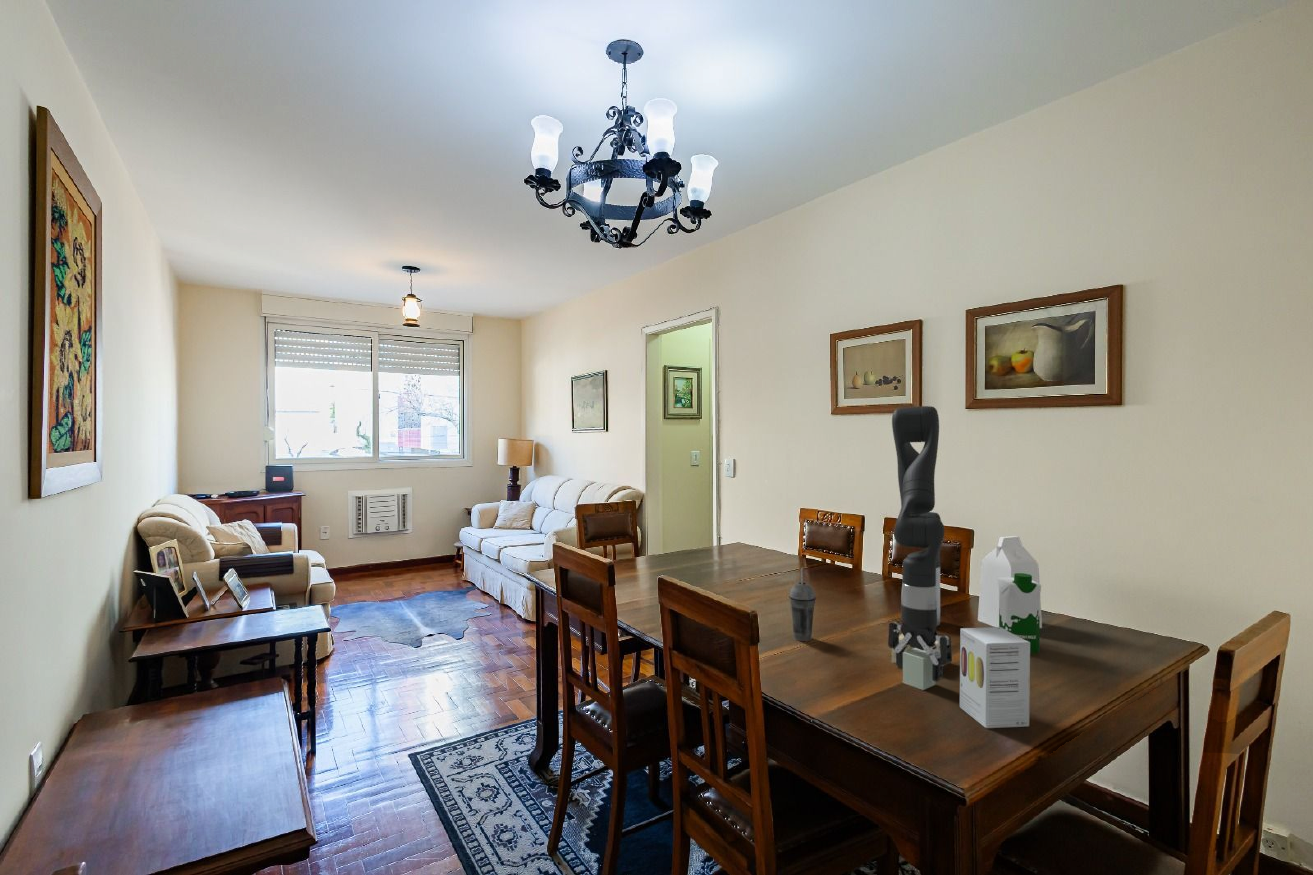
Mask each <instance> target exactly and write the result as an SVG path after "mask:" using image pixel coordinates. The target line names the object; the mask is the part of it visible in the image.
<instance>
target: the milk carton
mask: <svg viewBox="0 0 1313 875" xmlns="http://www.w3.org/2000/svg"><path fill="white" fill-rule="evenodd" d="M998 586H999V627H1001V628H1003V629H1005V630H1007V631H1008V632H1010V633H1012V634H1014V635H1016V636H1018V637H1020V638H1022V639H1024V640H1026V641H1028V642H1030V654H1040V642H1041V641H1040V629H1041V628H1040V599H1041V591H1042V584H1041V583H1040V584H1039V583H1037V582H1035V581H1033V580H1032V576H1031V575H1029V574H1023V573H1015V574H1014V578H1002V577H998Z"/></svg>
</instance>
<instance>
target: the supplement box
mask: <svg viewBox="0 0 1313 875" xmlns="http://www.w3.org/2000/svg"><path fill="white" fill-rule="evenodd" d="M959 632H960V634H959V635H960V637H959V639H960V640H959V642H960V645H959V646H960V647H959V648H960V649H959V653H960V654H959V708H960V709H961V710H963V711H964V712H965V713H967V714H968V715H969V716H970V717H971V718H973V719H974V720H975V721H976V722H977V723H979V724H980V725H981V726H982V727H984V728H985V729H995V728H996V729H1001V728H1003V729H1004V728H1019V727H1020V728H1022V727H1024V728H1025V727H1030V701H1031V698H1030V696H1031V695H1030V693H1031V692H1030V690H1031V689H1030V686H1031V685H1030V681H1031V680H1030V677H1031V675H1030V674H1031V673H1030V671H1031V653H1030V642H1028V641H1026V640H1024V639H1022V638H1020V637H1018V636H1016V635H1014V634H1012V633H1010V632H1008V631H1007V630H1005V629H1003V628H1001V627H994V626H991V627H990V626H989V627H963V628H962V627H961V628H960V631H959Z"/></svg>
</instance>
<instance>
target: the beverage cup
mask: <svg viewBox="0 0 1313 875" xmlns="http://www.w3.org/2000/svg"><path fill="white" fill-rule="evenodd" d="M803 570H804V568H803V567H800V582H798V583H796V584H794V585H793V586H792V587H791V589H790V593H789V602H790V606H791V616H792V617H791V619H792V629H793V637H794V638H795V639H796V640H795V639H794V640H795V641H798V642H803V641H806V642H811V640H812V634H813V633H812V632H813V622H814V621H813V620H814V609H815V608H814V607H815V604H816V599H817V597H816V592H815V589H814V588H813V587H812V586H811V585H810V584H809V583H806V582H804V577H803V576H804V572H803Z"/></svg>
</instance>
